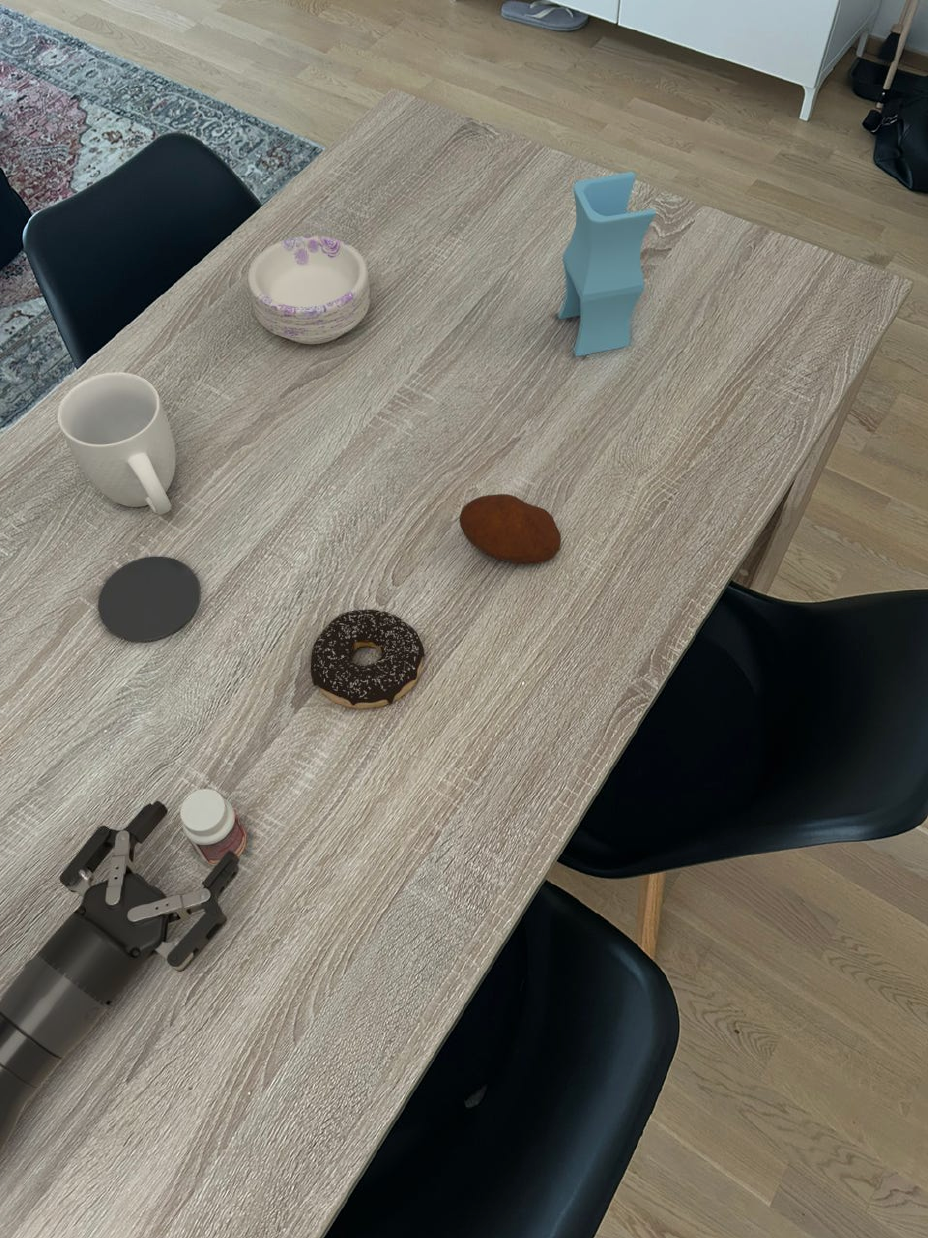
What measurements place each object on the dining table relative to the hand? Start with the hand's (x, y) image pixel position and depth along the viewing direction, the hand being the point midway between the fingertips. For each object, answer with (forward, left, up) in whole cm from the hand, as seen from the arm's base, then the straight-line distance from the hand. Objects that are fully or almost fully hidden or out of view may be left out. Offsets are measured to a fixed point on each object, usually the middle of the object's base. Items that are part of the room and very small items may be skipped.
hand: (198, 830), depth 94 cm
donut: (+13, +21, -6) cm, 25 cm away
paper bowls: (0, +73, -6) cm, 73 cm away
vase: (+37, +73, -6) cm, 82 cm away
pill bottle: (+1, +1, -6) cm, 6 cm away
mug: (-16, +43, -6) cm, 46 cm away
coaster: (-12, +28, -6) cm, 31 cm away
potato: (+27, +37, -6) cm, 46 cm away
